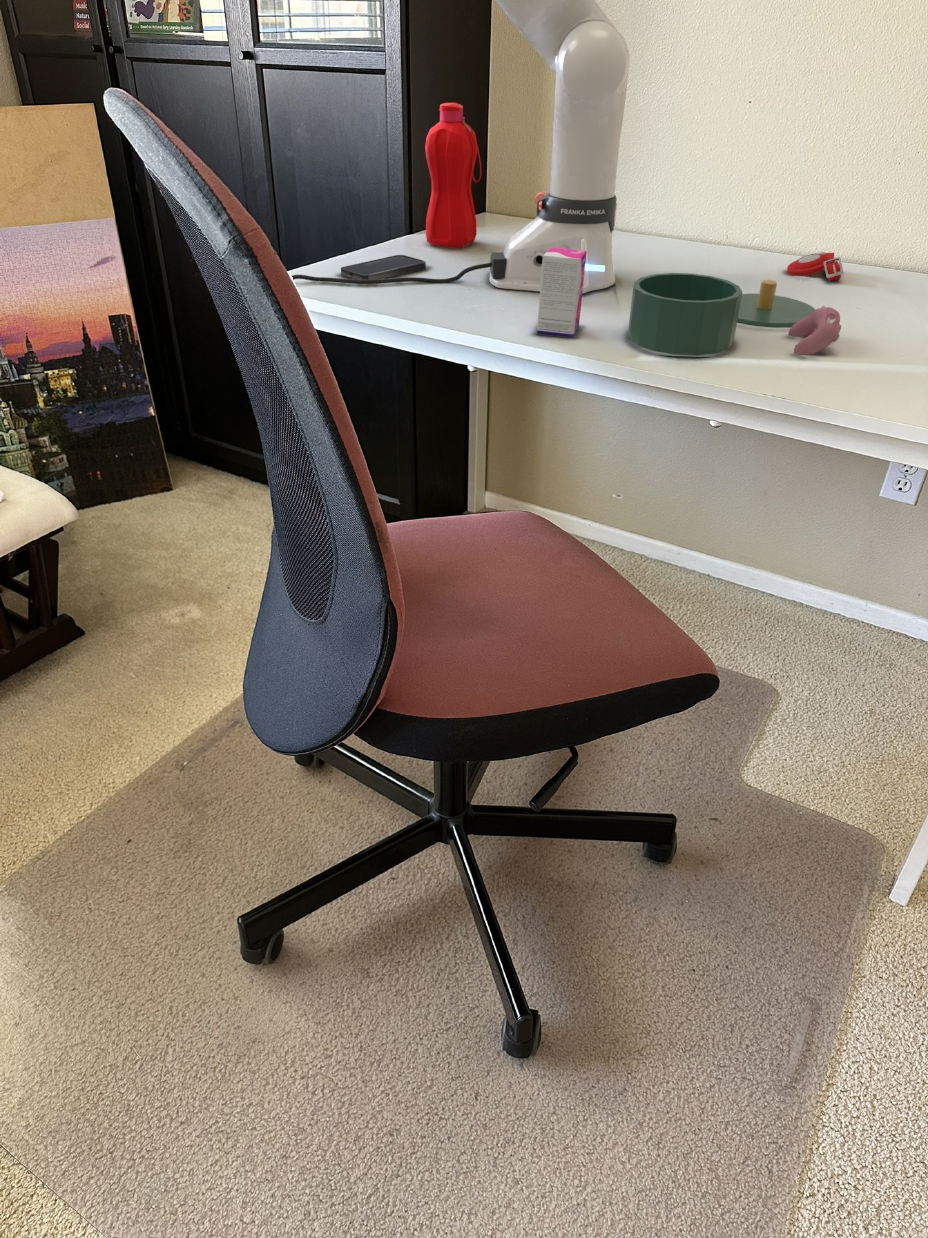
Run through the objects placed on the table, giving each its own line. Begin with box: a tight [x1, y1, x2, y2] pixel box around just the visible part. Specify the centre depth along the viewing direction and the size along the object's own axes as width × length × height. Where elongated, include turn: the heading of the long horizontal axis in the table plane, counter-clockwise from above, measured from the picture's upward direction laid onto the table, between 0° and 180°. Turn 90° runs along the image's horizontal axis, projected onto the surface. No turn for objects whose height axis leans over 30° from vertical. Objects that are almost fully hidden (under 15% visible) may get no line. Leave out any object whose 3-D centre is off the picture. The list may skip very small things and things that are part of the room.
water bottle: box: [424, 102, 482, 249], centre depth 176 cm, size 9×11×25 cm
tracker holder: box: [786, 251, 845, 282], centre depth 164 cm, size 12×4×10 cm
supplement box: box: [536, 248, 587, 339], centre depth 135 cm, size 6×6×12 cm
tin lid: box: [737, 279, 816, 328], centre depth 144 cm, size 16×16×5 cm
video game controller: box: [788, 305, 842, 356], centre depth 131 cm, size 10×5×7 cm, turn 168°
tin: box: [627, 272, 743, 360], centre depth 132 cm, size 15×15×8 cm
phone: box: [340, 254, 427, 280], centre depth 165 cm, size 8×1×15 cm
